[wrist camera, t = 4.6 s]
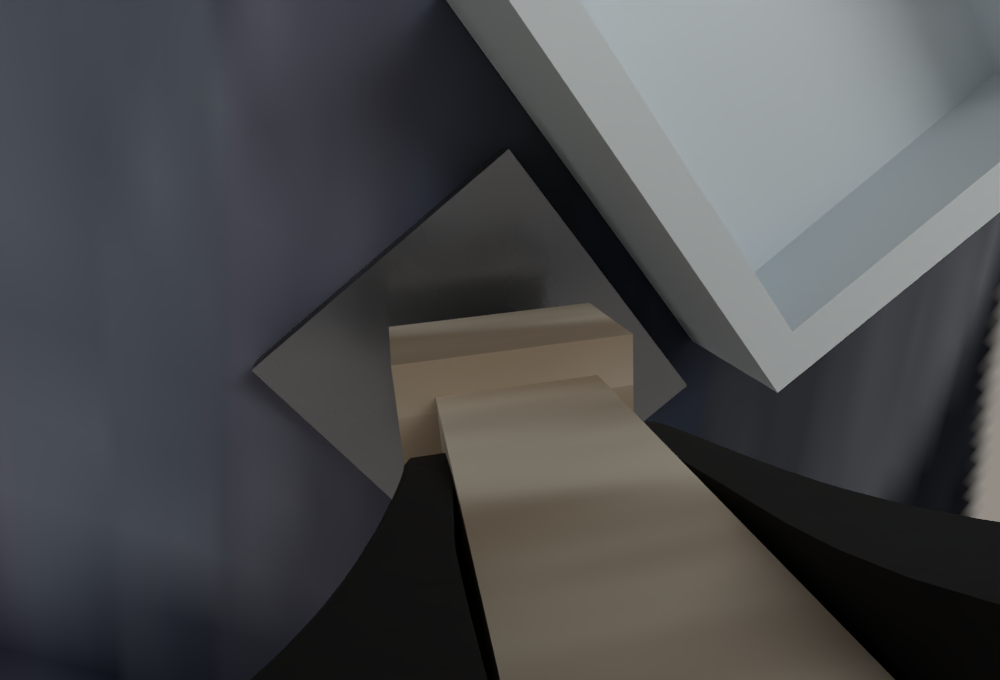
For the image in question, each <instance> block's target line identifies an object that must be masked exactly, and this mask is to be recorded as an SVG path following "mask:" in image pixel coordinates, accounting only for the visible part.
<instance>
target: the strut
mask: <svg viewBox="0 0 1000 680" xmlns="http://www.w3.org/2000/svg"><path fill="white" fill-rule="evenodd" d="M389 338H390V357H391V370H392V377H393V384H394V392H395V399H396V407H397V414H398V421H399V429H400V436H401V444H402V451H403V458H404V465H405V464H406V463H407V461H408V460H409V459H410V458H414V457H420V456H427V455H434V454H440V453H445V454H446V457H447V459H448V463H449V466H450V469H451V473H452V479H453V489H454V498H455V508H456V517H457V526H458V536H459V545H460V554H461V564H462V573H463V582H464V590H465V594H466V598H467V602H468V606H469V611H470V615H471V619H472V623H473V627H474V630H475V634H476V638H477V642H478V645H479V649H480V653H481V657H482V661H483V664H484V668H485V671H486V674H487V678H488V680H895V679H894V678H893V677H892V676H891V675H890V674H889V673H888V672H887V671H886V670H885V669H884V668H883V667H882V666H881V665H880V664H879V663H878V662H877V661H876V660H875V659H874V658H873V657H872V656H871V655H870V654H869V653H868V652H867V651H866V649H865V648H864V647H863V646H862V645H861V644H860V643H859V642H858V641H857V640H856V639H855V638H854V637H853V636H852V635H851V634H850V633H849V632H848V631H847V630H846V629H845V628H844V627H843V626H842V625H841V624H840V623H839V622H838V621H837V620H836V619H835V618H834V617H833V616H832V615H831V614H830V613H829V612H828V611H827V610H826V609H825V608H824V606H823V605H822V604H821V603H820V602H819V601H818V600H817V599H816V598H815V597H814V596H813V595H812V594H811V593H810V592H809V591H808V590H807V589H806V588H805V587H804V586H803V585H802V584H801V583H800V582H799V581H798V580H797V579H796V578H795V577H794V576H793V575H792V574H791V573H790V572H789V571H788V570H787V569H786V568H785V567H784V566H783V564H782V563H781V562H780V561H779V560H778V559H777V558H776V557H775V556H774V555H773V554H772V553H771V552H770V551H769V550H768V549H767V548H766V547H765V546H764V545H763V544H762V543H761V542H760V541H759V540H758V539H757V538H756V537H755V536H754V535H753V534H752V533H751V532H750V531H749V530H748V529H747V528H746V527H745V526H744V525H743V524H742V522H741V521H740V520H739V519H738V518H737V517H736V516H735V515H734V514H733V513H732V512H731V511H730V510H729V509H728V508H727V507H726V506H725V505H724V504H723V503H722V502H721V501H720V500H719V499H718V498H717V497H716V496H715V495H714V494H713V493H712V492H711V491H710V490H709V489H708V488H707V487H706V486H705V485H704V484H703V483H702V482H701V481H700V479H699V478H698V477H697V476H696V475H695V474H694V473H693V472H692V471H691V470H690V469H689V468H688V467H687V466H686V465H685V464H684V463H683V462H682V461H681V460H680V459H679V458H678V457H677V456H676V455H675V454H674V453H673V452H672V451H671V450H670V449H669V448H668V447H667V446H666V445H665V444H664V443H663V442H662V441H661V440H660V439H659V437H658V436H657V435H656V434H655V433H654V432H653V431H652V430H651V429H650V428H649V427H648V426H647V425H646V424H645V423H644V422H643V421H642V420H641V419H640V418H639V417H638V416H637V415H636V414H635V413H634V401H633V334H632V333H631V332H629V331H628V330H626V329H625V328H624V327H622V326H621V325H620V324H618V323H617V322H615V321H614V320H613V319H611V318H610V317H608V316H607V315H606V314H604V313H603V312H601V311H600V310H599V309H597V308H596V307H595V306H593V305H592V304H590V303H583V304H575V305H567V306H558V307H550V308H542V309H533V310H525V311H517V312H509V313H500V314H492V315H484V316H475V317H467V318H459V319H450V320H442V321H434V322H425V323H417V324H409V325H401V326H392V327H389Z"/></svg>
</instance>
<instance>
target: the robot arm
mask: <svg viewBox="0 0 1000 680" xmlns="http://www.w3.org/2000/svg"><path fill="white" fill-rule="evenodd" d="M645 424H646V425H647V426H648V427H649V428H650V429H651V430H652V431H653V432H654V433H655V434H656V435H657V436H658V437H659V439H660V440H661V441H662V442H663V443H664V444H665V445H666V446H667V447H668V448H669V449H670V450H671V451H672V452H673V453H674V454H675V455H676V456H677V457H678V458H679V459H680V460H681V461H682V462H683V463H684V464H685V465H686V466H687V467H688V468H689V469H690V470H691V471H692V472H693V473H694V474H695V475H696V476H697V477H698V478H699V479H700V481H701V482H702V483H703V484H704V485H705V486H706V487H707V488H708V489H709V490H710V491H711V492H712V493H713V494H714V495H715V496H716V497H717V498H718V499H719V500H720V501H721V502H722V503H723V504H724V505H725V506H726V507H727V508H728V509H729V510H730V511H731V512H732V513H733V514H734V515H735V516H736V517H737V518H738V519H739V520H740V521H741V522H742V524H743V525H744V526H745V527H746V528H747V529H748V530H749V531H750V532H751V533H752V534H753V535H754V536H755V537H756V538H757V539H758V540H759V541H760V542H761V543H762V544H763V545H764V546H765V547H766V548H767V549H768V550H769V551H770V552H771V553H772V554H773V555H774V556H775V557H776V558H777V559H778V560H779V561H780V562H781V563H782V564H783V566H784V567H785V568H786V569H787V570H788V571H789V572H790V573H791V574H792V575H793V576H794V577H795V578H796V579H797V580H798V581H799V582H800V583H801V584H802V585H803V586H804V587H805V588H806V589H807V590H808V591H809V592H810V593H811V594H812V595H813V596H814V597H815V598H816V599H817V600H818V601H819V602H820V603H821V604H822V605H823V606H824V608H825V609H826V610H827V611H828V612H829V613H830V614H831V615H832V616H833V617H834V618H835V619H836V620H837V621H838V622H839V623H840V624H841V625H842V626H843V627H844V628H845V629H846V630H847V631H848V632H849V633H850V634H851V635H852V636H853V637H854V638H855V639H856V640H857V641H858V642H859V643H860V644H861V645H862V646H863V647H864V648H865V649H866V651H867V652H868V653H869V654H870V655H871V656H872V657H873V658H874V659H875V660H876V661H877V662H878V663H879V664H880V665H881V666H882V667H883V668H884V669H885V670H886V671H887V672H888V673H889V674H890V675H891V676H892V677H893V678H894V679H895V680H1000V522H995V521H989V520H982V519H976V518H971V517H966V516H961V515H955V514H950V513H945V512H940V511H935V510H929V509H924V508H919V507H915V506H910V505H906V504H901V503H897V502H893V501H888V500H885V499H881V498H877V497H873V496H869V495H866V494H862V493H858V492H854V491H850V490H846V489H843V488H839V487H836V486H832V485H829V484H826V483H822V482H819V481H816V480H813V479H810V478H807V477H804V476H801V475H798V474H795V473H792V472H789V471H786V470H783V469H780V468H777V467H775V466H772V465H769V464H766V463H764V462H761V461H758V460H756V459H753V458H750V457H748V456H745V455H742V454H740V453H737V452H735V451H732V450H730V449H727V448H724V447H722V446H719V445H717V444H714V443H712V442H709V441H707V440H704V439H702V438H699V437H697V436H694V435H692V434H689V433H686V432H684V431H681V430H678V429H676V428H673V427H670V426H667V425H664V424H660V423H656V422H647V423H645ZM251 680H488V678H487V674H486V671H485V668H484V664H483V661H482V657H481V653H480V649H479V645H478V642H477V638H476V634H475V630H474V627H473V623H472V619H471V615H470V611H469V606H468V602H467V598H466V594H465V590H464V582H463V573H462V564H461V554H460V545H459V536H458V526H457V517H456V508H455V498H454V489H453V479H452V473H451V469H450V466H449V463H448V459H447V457H446V454H445V453H440V454H434V455H427V456H420V457H414V458H410V459H409V460H408V461H407V463H406V464H405V465H404V469H403V473H402V476H401V479H400V482H399V484H398V487H397V489H396V491H395V494H394V496H393V498H392V500H391V502H390V504H389V506H388V508H387V510H386V512H385V514H384V516H383V518H382V520H381V522H380V524H379V526H378V528H377V529H376V531H375V533H374V534H373V536H372V538H371V539H370V541H369V543H368V544H367V546H366V547H365V549H364V551H363V552H362V554H361V555H360V557H359V559H358V560H357V562H356V563H355V565H354V566H353V568H352V569H351V570H350V572H349V573H348V575H347V576H346V577H345V579H344V580H343V582H342V583H341V584H340V586H339V587H338V588H337V589H336V591H335V592H334V593H333V594H332V596H331V597H330V598H329V600H328V601H327V602H326V603H325V605H324V606H323V607H322V608H321V609H320V610H319V612H318V613H317V614H316V615H315V616H314V617H313V618H312V619H311V621H310V622H309V623H308V624H307V625H306V626H305V627H304V628H303V629H302V630H301V631H300V632H299V633H298V634H297V636H296V637H295V638H294V639H293V640H292V641H291V642H290V643H289V644H288V645H287V646H286V647H285V648H284V649H283V650H282V651H281V652H280V653H279V654H278V655H277V656H276V657H275V658H274V659H273V660H272V661H270V662H269V663H268V664H267V665H266V666H265V667H264V668H263V669H262V670H261V671H260V672H258V673H257V674H256V675H255V676H254V677H253V678H252V679H251Z"/></svg>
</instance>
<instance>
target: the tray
mask: <svg viewBox="0 0 1000 680" xmlns="http://www.w3.org/2000/svg"><path fill="white" fill-rule="evenodd" d="M446 1H447V3H448V4H449V5H450V7H451V8H452V10H453V11H454V12H455V14H456V15H457V16H458V18H459V19H460V21H461V22H462V23H463V25H464V26H465V28H466V29H467V30H468V32H469V33H470V34H471V36H472V37H473V39H474V40H475V41H476V43H477V44H478V45H479V47H480V48H481V50H482V51H483V52H484V54H485V55H486V57H487V58H488V59H489V61H490V62H491V63H492V65H493V66H494V68H495V69H496V70H497V72H498V73H499V75H500V76H501V77H502V79H503V80H504V81H505V83H506V84H507V86H508V87H509V88H510V90H511V91H512V92H513V94H514V95H515V97H516V98H517V99H518V101H519V102H520V104H521V105H522V106H523V108H524V109H525V110H526V112H527V113H528V115H529V116H530V117H531V119H532V120H533V122H534V123H535V124H536V126H537V127H538V128H539V130H540V131H541V133H542V134H543V135H544V137H545V138H546V139H547V141H548V142H549V144H550V145H551V146H552V148H553V149H554V151H555V152H556V153H557V155H558V156H559V157H560V159H561V160H562V162H563V163H564V164H565V166H566V167H567V168H568V170H569V171H570V173H571V174H572V175H573V177H574V178H575V180H576V181H577V182H578V184H579V185H580V186H581V188H582V189H583V191H584V192H585V193H586V195H587V196H588V198H589V199H590V200H591V202H592V203H593V204H594V206H595V207H596V209H597V210H598V211H599V213H600V214H601V215H602V217H603V218H604V220H605V221H606V222H607V224H608V225H609V227H610V228H611V229H612V231H613V232H614V233H615V235H616V236H617V238H618V239H619V240H620V242H621V243H622V245H623V246H624V247H625V249H626V250H627V251H628V253H629V254H630V256H631V257H632V258H633V260H634V261H635V262H636V264H637V265H638V267H639V268H640V269H641V271H642V272H643V274H644V275H645V276H646V278H647V279H648V280H649V282H650V283H651V285H652V286H653V287H654V289H655V290H656V291H657V293H658V294H659V296H660V297H661V298H662V300H663V301H664V303H665V304H666V305H667V307H668V308H669V309H670V311H671V312H672V314H673V315H674V316H675V318H676V319H677V321H678V322H679V323H680V325H681V326H682V327H683V329H684V330H685V332H686V333H687V334H688V336H689V337H690V338H691V340H692V341H693V342H695V343H696V344H698V345H700V346H701V347H703V348H705V349H706V350H708V351H710V352H711V353H713V354H715V355H716V356H718V357H720V358H721V359H723V360H725V361H726V362H728V363H730V364H731V365H733V366H734V367H736V368H738V369H739V370H741V371H743V372H744V373H746V374H748V375H749V376H751V377H753V378H754V379H756V380H758V381H759V382H761V383H763V384H764V385H766V386H768V387H769V388H771V389H772V390H774V391H776V392H777V393H778V392H779V391H780V390H782V389H783V388H784V387H785V386H787V385H788V384H789V383H790V382H791V381H793V380H794V379H795V378H796V377H798V376H799V375H800V374H801V373H802V372H804V371H805V370H806V369H807V368H809V367H810V366H811V365H812V364H814V363H815V362H816V361H817V360H818V359H820V358H821V357H822V356H823V355H825V354H826V353H827V352H828V351H830V350H831V349H832V348H833V347H834V346H836V345H837V344H838V343H839V342H841V341H842V340H843V339H844V338H845V337H847V336H848V335H849V334H850V333H852V332H853V331H854V330H855V329H857V328H858V327H859V326H860V325H861V324H863V323H864V322H865V321H866V320H868V319H869V318H870V317H871V316H873V315H874V314H875V313H876V312H877V311H879V310H880V309H881V308H882V307H884V306H885V305H886V304H887V303H889V302H890V301H891V300H892V299H893V298H895V297H896V296H897V295H898V294H900V293H901V292H902V291H903V290H904V289H906V288H907V287H908V286H909V285H911V284H912V283H913V282H914V281H916V280H917V279H918V278H919V277H920V276H922V275H923V274H924V273H925V272H927V271H928V270H929V269H930V268H932V267H933V266H934V265H935V264H936V263H938V262H939V261H940V260H941V259H943V258H944V257H945V256H946V255H947V254H949V253H950V252H951V251H952V250H954V249H955V248H956V247H957V246H959V245H960V244H961V243H962V242H963V241H965V240H966V239H967V238H968V237H970V236H971V235H972V234H973V233H975V232H976V231H977V230H978V229H979V228H981V227H982V226H983V225H984V224H986V223H987V222H988V221H989V220H990V219H992V218H993V217H994V216H995V215H997V214H998V213H999V212H1000V0H446Z"/></svg>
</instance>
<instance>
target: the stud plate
mask: <svg viewBox="0 0 1000 680" xmlns="http://www.w3.org/2000/svg"><path fill="white" fill-rule="evenodd" d="M583 303H590V304H592V305H593V306H595V307H596V308H597V309H599V310H600V311H601V312H603V313H604V314H606V315H607V316H608V317H610V318H611V319H613V320H614V321H615V322H617V323H618V324H620V325H621V326H622V327H624V328H625V329H626V330H628V331H629V332H631V333H632V334H633V401H634V413H635V414H636V415H637V416H638V417H639V418H640V419H641V420H642V421H645V420H646V419H647V418H648V417H650V416H651V415H652V414H653V413H654V412H656V411H657V410H658V409H659V408H660V407H662V406H663V405H664V404H665V403H667V402H668V401H669V400H670V399H671V398H673V397H674V396H675V395H676V394H678V393H679V392H680V391H681V390H682V389H684V388H685V387H686V386H687V385H686V383H685V382H684V381H683V379H682V378H681V377H680V375H679V374H678V373H677V371H676V370H675V369H674V367H673V366H672V365H671V363H670V362H669V361H668V359H667V358H666V357H665V356H664V354H663V353H662V352H661V350H660V349H659V348H658V346H657V345H656V344H655V342H654V341H653V340H652V338H651V337H650V336H649V334H648V333H647V332H646V330H645V329H644V328H643V326H642V325H641V324H640V322H639V321H638V320H637V318H636V317H635V316H634V314H633V313H632V312H631V310H630V309H629V308H628V306H627V305H626V304H625V302H624V301H623V300H622V298H621V297H620V296H619V294H618V293H617V292H616V290H615V289H614V288H613V286H612V285H611V284H610V283H609V281H608V280H607V279H606V277H605V276H604V275H603V273H602V272H601V271H600V269H599V268H598V267H597V265H596V264H595V263H594V261H593V260H592V259H591V257H590V256H589V255H588V253H587V252H586V251H585V249H584V248H583V247H582V245H581V244H580V243H579V241H578V240H577V239H576V237H575V236H574V235H573V233H572V232H571V231H570V229H569V228H568V227H567V225H566V224H565V223H564V221H563V220H562V219H561V217H560V216H559V215H558V213H557V212H556V211H555V210H554V208H553V207H552V206H551V204H550V203H549V202H548V200H547V199H546V198H545V196H544V195H543V194H542V192H541V191H540V190H539V188H538V187H537V186H536V184H535V183H534V182H533V180H532V179H531V178H530V176H529V175H528V174H527V172H526V171H525V170H524V168H523V167H522V166H521V164H520V163H519V162H518V160H517V159H516V158H515V156H514V155H513V154H512V152H511V151H510V150H509V149H502V150H501V151H500V152H498V153H497V154H496V155H495V156H494V157H493V158H491V159H490V160H489V161H488V162H487V163H486V164H484V165H483V166H482V167H481V168H480V169H479V170H477V171H476V172H475V173H474V174H473V175H472V176H470V177H469V178H468V179H467V180H466V181H465V182H464V183H462V184H461V185H460V186H459V187H458V188H457V189H455V190H454V191H453V192H452V193H451V194H450V195H448V196H447V197H446V198H445V199H444V200H443V201H441V202H440V203H439V204H438V205H437V206H436V207H434V208H433V209H432V210H431V211H430V212H429V213H427V214H426V215H425V216H424V217H423V218H422V219H421V220H419V221H418V222H417V223H416V224H415V225H414V226H412V227H411V228H410V229H409V230H408V231H407V232H405V233H404V234H403V235H402V236H401V237H400V238H398V239H397V240H396V241H395V242H394V243H393V244H391V245H390V246H389V247H388V248H387V249H386V250H384V251H383V252H382V253H381V254H380V255H379V256H378V257H376V258H375V259H374V260H373V261H372V262H371V263H369V264H368V265H367V266H366V267H365V268H364V269H362V270H361V271H360V272H359V273H358V274H357V275H355V276H354V277H353V278H352V279H351V280H350V281H348V282H347V283H346V284H345V285H344V286H343V287H341V288H340V289H339V290H338V291H337V292H336V293H335V294H333V295H332V296H331V297H330V298H329V299H328V300H326V301H325V302H324V303H323V304H322V305H321V306H319V307H318V308H317V309H316V310H315V311H314V312H312V313H311V314H310V315H309V316H308V317H307V318H305V319H304V320H303V321H302V322H301V323H300V324H299V325H297V326H296V327H295V328H294V329H293V330H292V331H290V332H289V333H288V334H287V335H286V336H285V337H283V338H282V339H281V340H280V341H279V342H278V343H276V344H275V345H274V346H273V347H272V348H271V349H269V350H268V351H267V352H266V353H265V354H264V355H262V356H261V357H260V358H259V359H258V360H257V362H256V363H255V365H254V367H253V368H252V371H253V372H254V373H255V374H256V375H257V376H258V377H259V378H260V379H261V380H262V381H263V382H265V383H266V384H267V385H268V386H269V387H270V388H271V389H272V390H273V391H274V392H275V393H277V394H278V395H279V396H280V397H281V398H282V399H283V400H284V401H285V402H286V403H287V404H289V405H290V406H291V407H292V408H293V409H294V410H295V411H296V412H297V413H298V414H299V415H300V416H302V417H303V418H304V419H305V420H306V421H307V422H308V423H309V424H310V425H311V426H312V427H314V428H315V429H316V430H317V431H318V432H319V433H320V434H321V435H322V436H323V437H324V438H325V439H327V440H328V441H329V442H330V443H331V444H332V445H333V446H334V447H335V448H336V449H337V450H339V451H340V452H341V453H342V454H343V455H344V456H345V457H346V458H347V459H348V460H349V461H351V462H352V463H353V464H354V465H355V466H356V467H357V468H358V469H359V470H360V471H361V472H362V473H364V474H365V475H366V476H367V477H368V478H369V479H370V480H371V481H372V482H373V483H374V484H376V485H377V486H378V487H379V488H380V489H381V490H382V491H383V492H384V493H385V494H386V495H387V496H389V497H390V498H391V499H392V498H393V496H394V494H395V491H396V489H397V487H398V484H399V482H400V479H401V476H402V473H403V469H404V458H403V451H402V444H401V436H400V429H399V421H398V414H397V407H396V399H395V392H394V384H393V377H392V370H391V357H390V338H389V327H392V326H401V325H409V324H417V323H425V322H434V321H442V320H450V319H459V318H467V317H475V316H484V315H492V314H500V313H509V312H517V311H525V310H533V309H542V308H550V307H558V306H567V305H575V304H583Z"/></svg>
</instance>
